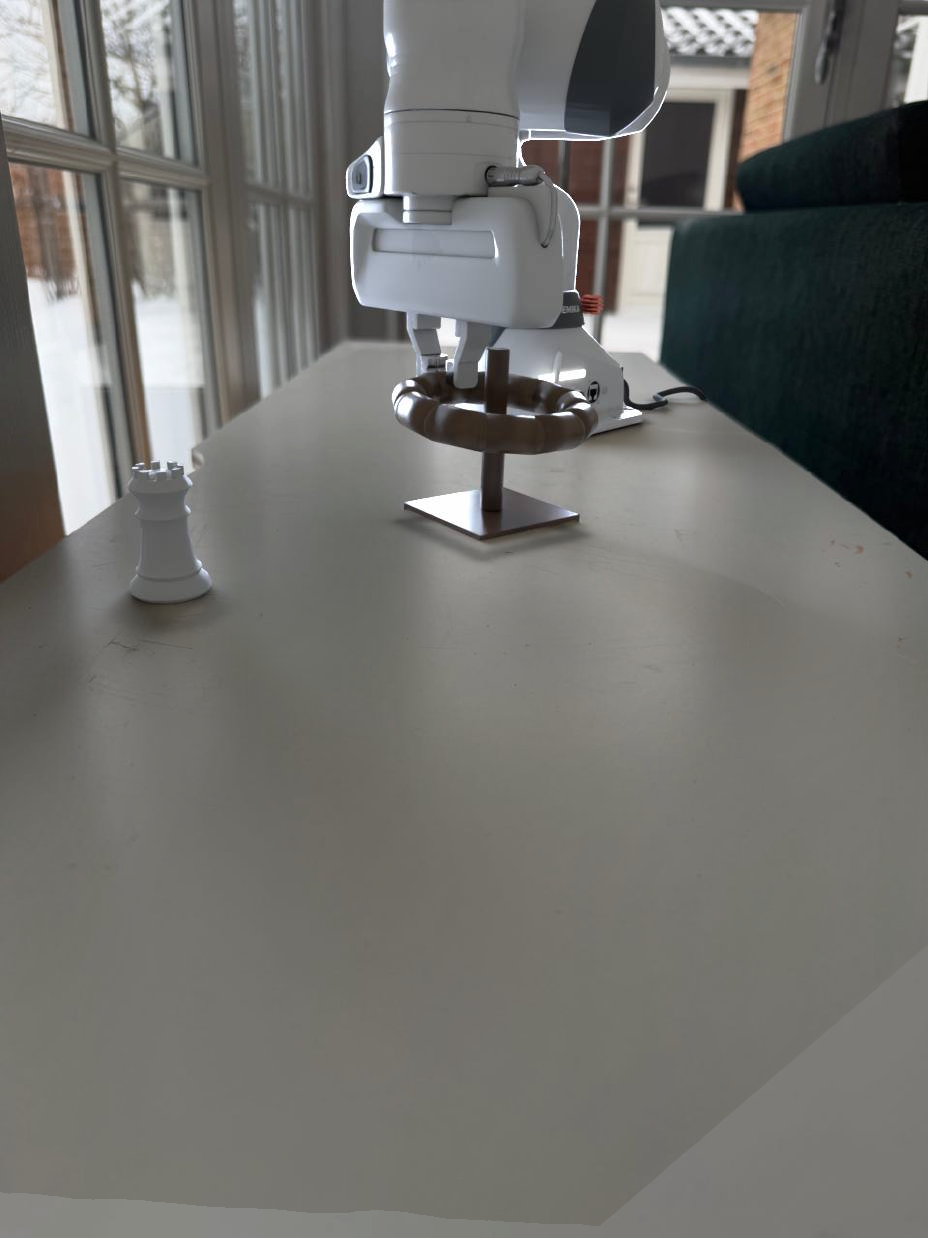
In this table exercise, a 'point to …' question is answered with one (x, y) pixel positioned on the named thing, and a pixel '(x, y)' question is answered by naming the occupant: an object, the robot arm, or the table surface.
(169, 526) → the rook chess piece
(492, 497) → the post
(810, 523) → the table surface
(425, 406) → the ring
